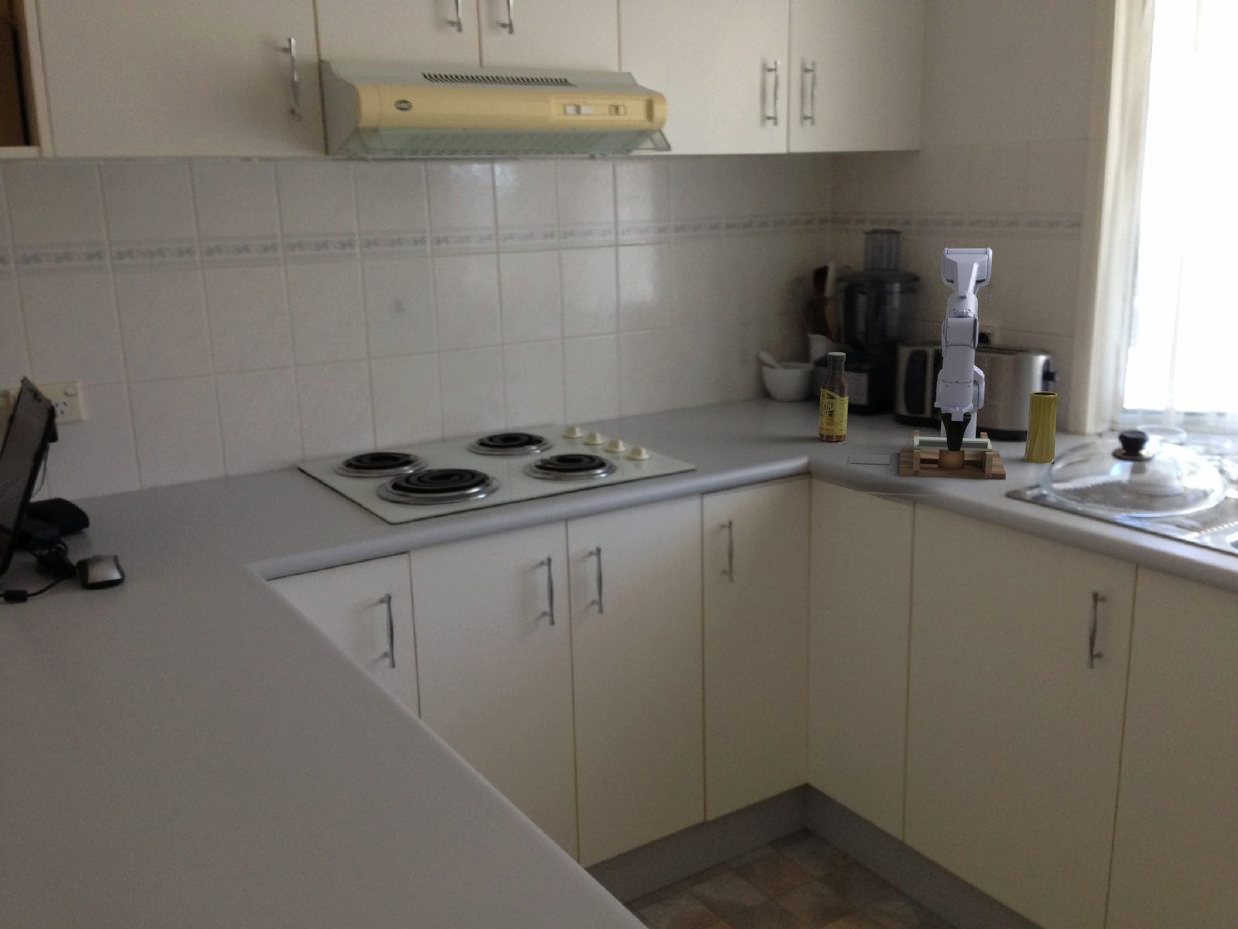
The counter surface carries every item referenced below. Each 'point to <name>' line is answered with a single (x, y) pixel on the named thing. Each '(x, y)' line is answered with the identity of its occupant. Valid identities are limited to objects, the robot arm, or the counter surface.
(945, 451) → the tan rounded cylinder
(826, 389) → the sauce bottle
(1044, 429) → the vase
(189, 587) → the counter surface
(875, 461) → the coaster
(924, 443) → the cover
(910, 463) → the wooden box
